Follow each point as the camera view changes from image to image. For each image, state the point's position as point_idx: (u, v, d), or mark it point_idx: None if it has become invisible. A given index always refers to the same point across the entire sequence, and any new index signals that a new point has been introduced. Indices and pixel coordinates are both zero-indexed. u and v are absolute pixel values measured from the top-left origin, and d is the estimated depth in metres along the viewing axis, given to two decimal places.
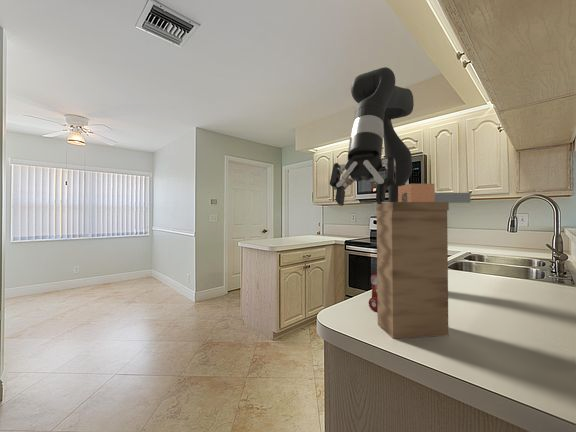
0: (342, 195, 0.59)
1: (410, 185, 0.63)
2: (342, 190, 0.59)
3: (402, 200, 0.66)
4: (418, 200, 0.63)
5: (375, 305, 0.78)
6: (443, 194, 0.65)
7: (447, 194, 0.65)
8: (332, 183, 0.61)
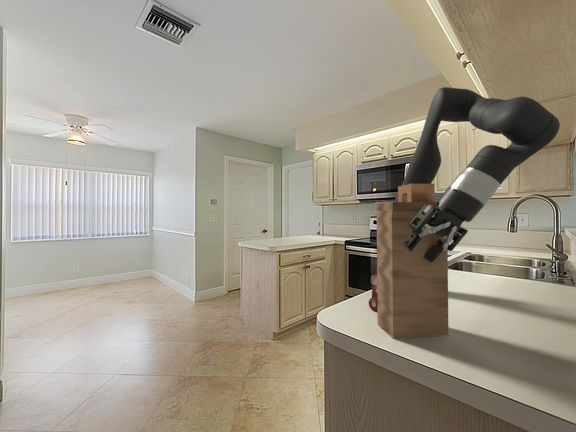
0: None
1: (410, 185, 0.63)
2: None
3: (402, 200, 0.66)
4: (418, 200, 0.63)
5: (375, 305, 0.78)
6: None
7: None
8: (419, 230, 0.54)
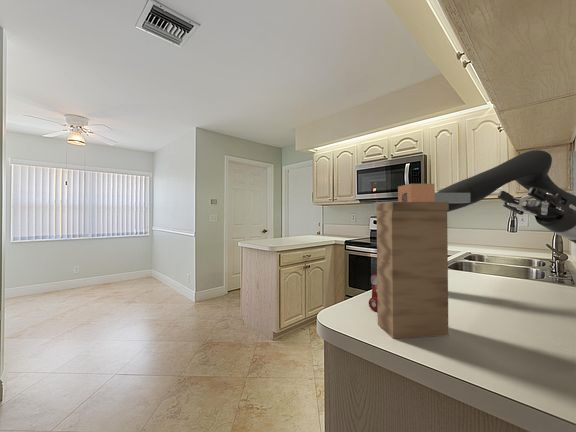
0: None
1: (410, 185, 0.63)
2: None
3: (402, 200, 0.66)
4: (418, 200, 0.63)
5: (375, 305, 0.78)
6: (443, 194, 0.65)
7: (447, 194, 0.65)
8: (553, 203, 0.62)
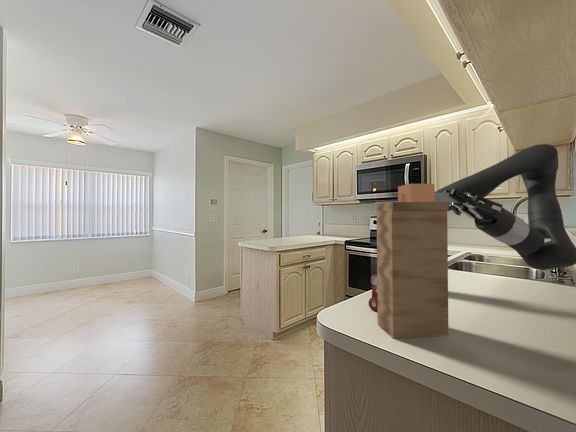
0: None
1: (410, 185, 0.63)
2: None
3: (402, 200, 0.67)
4: (418, 200, 0.63)
5: (375, 305, 0.78)
6: (443, 194, 0.65)
7: (447, 194, 0.65)
8: (472, 205, 0.64)
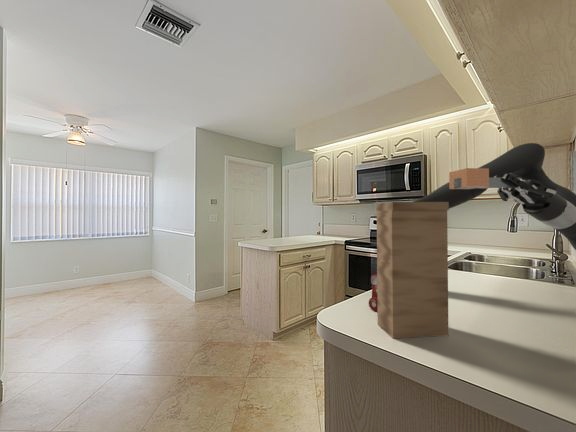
0: None
1: (465, 170, 0.65)
2: None
3: (455, 185, 0.68)
4: (473, 184, 0.64)
5: (375, 305, 0.78)
6: (496, 179, 0.67)
7: (499, 179, 0.67)
8: (525, 189, 0.65)
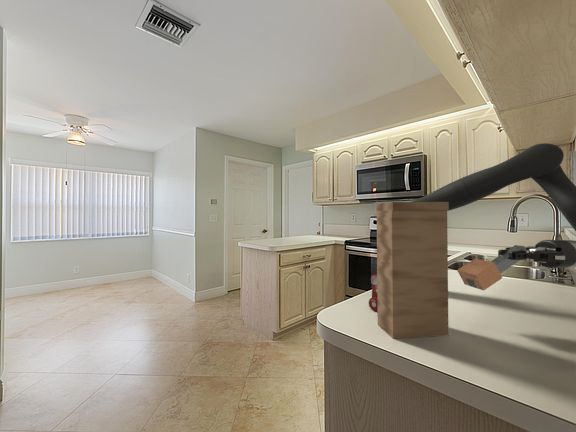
0: None
1: (475, 276, 0.64)
2: None
3: (469, 284, 0.68)
4: (488, 285, 0.65)
5: (375, 305, 0.78)
6: (503, 262, 0.67)
7: (506, 260, 0.67)
8: (535, 261, 0.65)
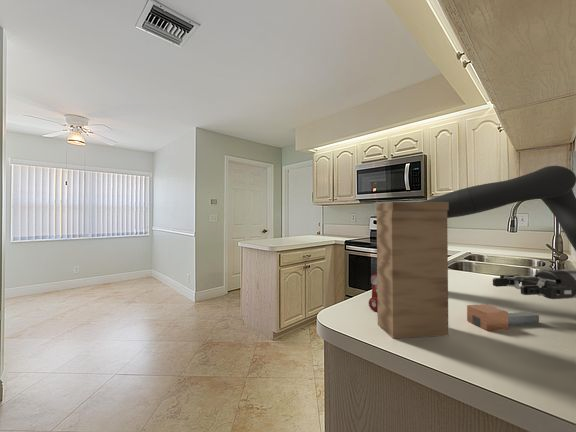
0: None
1: (485, 314, 0.65)
2: None
3: (473, 322, 0.68)
4: (493, 329, 0.65)
5: (375, 305, 0.78)
6: (514, 318, 0.67)
7: (517, 318, 0.68)
8: (548, 297, 0.63)
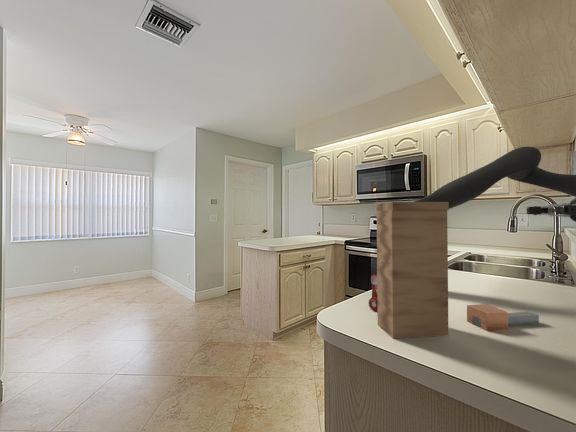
0: None
1: (485, 314, 0.65)
2: None
3: (473, 322, 0.68)
4: (493, 329, 0.65)
5: (375, 305, 0.78)
6: (514, 318, 0.67)
7: (517, 318, 0.68)
8: None
